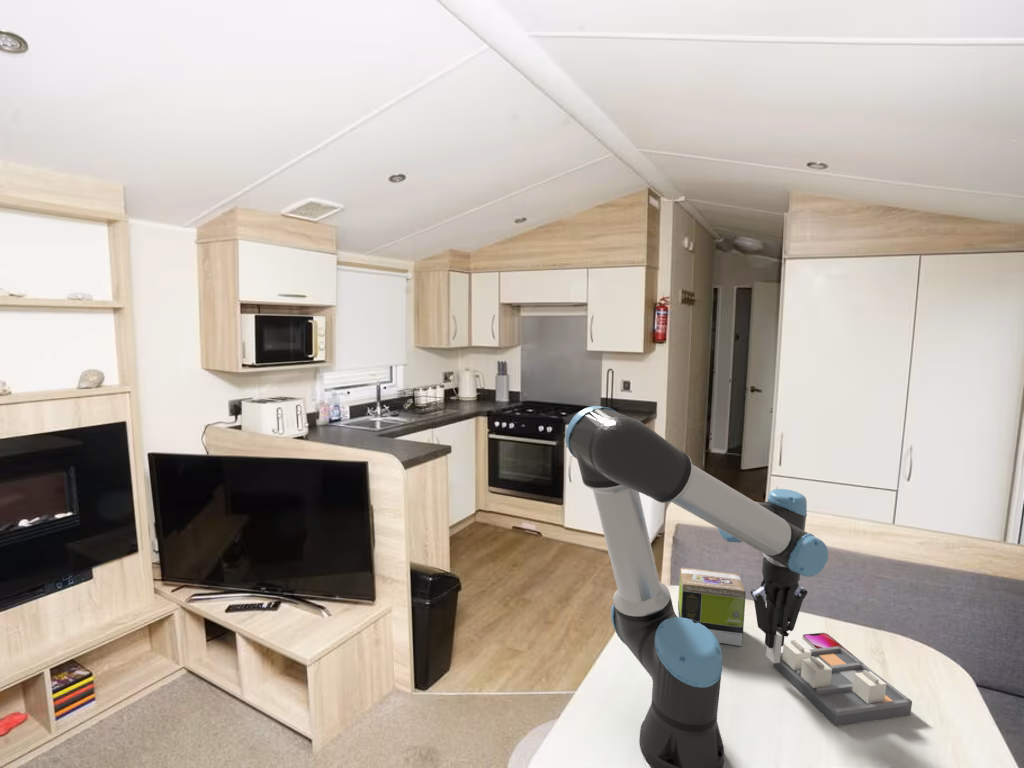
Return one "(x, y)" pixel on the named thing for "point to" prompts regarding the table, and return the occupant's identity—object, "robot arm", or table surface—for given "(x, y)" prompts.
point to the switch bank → (845, 690)
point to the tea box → (713, 602)
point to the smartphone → (822, 641)
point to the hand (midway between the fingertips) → (772, 659)
